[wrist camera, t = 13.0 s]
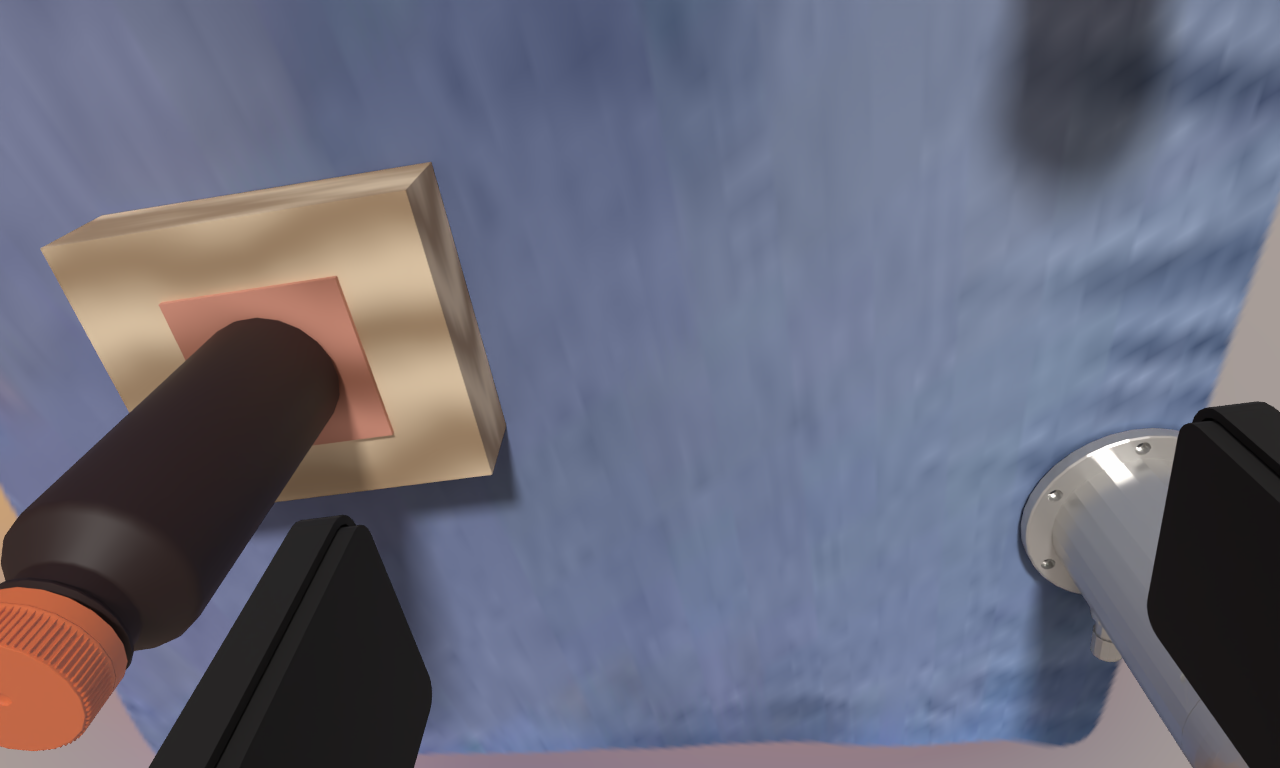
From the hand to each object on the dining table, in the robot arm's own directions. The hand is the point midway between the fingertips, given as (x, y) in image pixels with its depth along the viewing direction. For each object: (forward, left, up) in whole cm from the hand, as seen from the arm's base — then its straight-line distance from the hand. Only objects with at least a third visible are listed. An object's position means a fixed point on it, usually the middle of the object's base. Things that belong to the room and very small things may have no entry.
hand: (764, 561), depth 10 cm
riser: (-10, +22, -34) cm, 42 cm away
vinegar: (-10, +22, -29) cm, 38 cm away
